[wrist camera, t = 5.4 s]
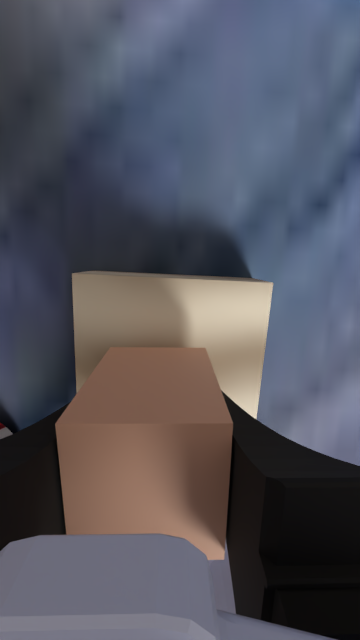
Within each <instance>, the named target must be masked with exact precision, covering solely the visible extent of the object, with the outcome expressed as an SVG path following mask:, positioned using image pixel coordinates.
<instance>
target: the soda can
mask: <svg viewBox="0 0 360 640" xmlns="http://www.w3.org/2000/svg"><path fill="white" fill-rule="evenodd" d="M12 434H13V433H12V432H11V431H10V430H9V429H8V428H7V427H5V426H4V425H3V424H1V423H0V439H2V438H5V437H7V436H10V435H12Z"/></svg>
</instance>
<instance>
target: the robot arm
mask: <svg viewBox="0 0 360 640" xmlns="http://www.w3.org/2000/svg"><path fill="white" fill-rule="evenodd" d="M221 391H222V390H221ZM222 394H223V397H224V400H225V402H226V405H227V408H228V411H229V413H230V416H231V419H232V422H233V434H232V449H231V464H230V479H229V495H228V510H227V525H226V540H225V556H224V560H208V559H207V556H206V555H205V554H204V553H203V552H202V551H200V550H199V549H198V548H196V547H195V546H194V545H193V544H191V543H190V542H189V541H188V540H186V539H185V538H180V537H175V536H170V535H165V534H160V533H152V534H79V535H66V526H65V516H64V506H63V496H62V486H61V476H60V466H59V456H58V446H57V436H56V427H55V423H56V422H57V421H58V419H59V418H60V416H61V415H62V414H63V412H64V411H65V409H66V408H67V407H68V405H69V404H70V403H71V402H70V403H69V404H67V405H65V406H64V407H62V408H61V409H59V410H57V411H56V412H54V413H52V414H51V415H49V416H47V417H46V418H44V419H42V420H40V421H39V422H37V423H35V424H33V425H31V426H29V427H27V428H25V429H23V430H21V431H19V432H16V433H14V434H12V435H10V436H7V437H5V438H2V439H0V640H360V466H357V465H354V464H351V463H348V462H344V461H341V460H338V459H335V458H332V457H329V456H326V455H324V454H321V453H319V452H316V451H313V450H311V449H309V448H306V447H304V446H302V445H300V444H298V443H296V442H293V441H291V440H289V439H287V438H285V437H284V436H282V435H280V434H278V433H276V432H275V431H273V430H271V429H270V428H268V427H266V426H265V425H263V424H262V423H260V422H259V421H258V420H256V419H255V418H253V417H252V416H251V415H249V414H248V413H247V412H246V411H244V410H243V409H242V408H241V407H239V406H238V405H237V404H236V403H235V402H234V401H233V400H231V399H230V398H229V397H228V396H227V395H226V394H225V393H224V392H223V391H222Z"/></svg>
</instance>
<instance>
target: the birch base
mask: <svg viewBox="0 0 360 640" xmlns="http://www.w3.org/2000/svg"><path fill="white" fill-rule="evenodd" d="M272 288H273V283H271V282H267V281H263V280H258V279H254V278H239V277H218V276H197V275H177V274H156V273H135V272H114V271H86V272H79V273H72V291H73V316H74V341H75V366H76V391H77V393H78V391H79V390H80V389H81V387H82V386H83V384H84V383H85V382H86V380H87V379H88V378H89V376H90V375H91V373H92V372H93V371H94V369H95V368H96V366H97V365H98V364H99V362H100V361H101V359H102V358H103V357H104V355H105V354H106V352H107V351H108V350H109V348H110V347H174V348H206V350H207V353H208V356H209V359H210V361H211V364H212V367H213V370H214V372H215V375H216V378H217V381H218V383H219V386H220V389H221V390H222V391H223V392H224V393H225V394H226V395H227V396H228V397H229V398H230V399H231V400H233V401H234V402H235V403H236V404H237V405H238V406H239V407H241V408H242V409H243V410H244V411H246V412H247V413H248V414H249V415H251V416H252V417H253V418H255V419H256V417H257V409H258V401H259V393H260V385H261V377H262V369H263V361H264V353H265V345H266V337H267V329H268V321H269V313H270V304H271V296H272Z"/></svg>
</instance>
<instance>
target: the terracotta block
mask: <svg viewBox="0 0 360 640" xmlns="http://www.w3.org/2000/svg"><path fill="white" fill-rule="evenodd" d="M55 427H56V436H57V446H58V456H59V466H60V476H61V486H62V496H63V506H64V516H65V526H66V535H79V534H152V533H160V534H165V535H170V536H175V537H180V538H185V539H186V540H188V541H189V542H190V543H191V544H193V545H194V546H195V547H196V548H198V549H199V550H200V551H202V552H203V553H204V554H205V555H206V556H207V559H208V560H224V556H225V540H226V525H227V510H228V495H229V479H230V464H231V449H232V434H233V422H232V419H231V416H230V413H229V411H228V408H227V405H226V402H225V400H224V397H223V394H222V391H221V389H220V386H219V383H218V381H217V378H216V375H215V372H214V370H213V367H212V364H211V361H210V359H209V356H208V353H207V350H206V348H174V347H110V348H109V350H108V351H107V352H106V354H105V355H104V357H103V358H102V359H101V361H100V362H99V364H98V365H97V366H96V368H95V369H94V371H93V372H92V373H91V375H90V376H89V378H88V379H87V380H86V382H85V383H84V384H83V386H82V387H81V389H80V390H79V391H78V393H77V394H76V396H75V397H74V398H73V400H72V401H71V403H70V404H69V405H68V407H67V408H66V409H65V411H64V412H63V414H62V415H61V416H60V418H59V419H58V421H57V422H56V423H55Z"/></svg>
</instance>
